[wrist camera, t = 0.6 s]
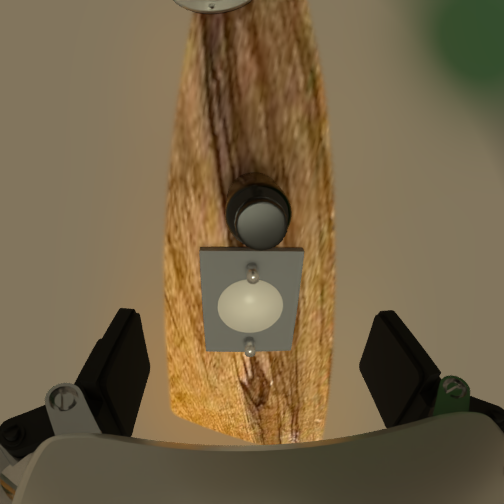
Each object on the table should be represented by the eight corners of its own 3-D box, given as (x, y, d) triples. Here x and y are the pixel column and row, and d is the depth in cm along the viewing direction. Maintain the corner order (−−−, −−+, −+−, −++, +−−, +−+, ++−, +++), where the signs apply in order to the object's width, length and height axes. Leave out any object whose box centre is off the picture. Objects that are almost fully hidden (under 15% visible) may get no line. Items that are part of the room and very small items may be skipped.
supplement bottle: (290, 200, 37) (314, 231, 26) (250, 232, 39) (257, 275, 28) (256, 159, 35) (267, 174, 24) (215, 194, 36) (207, 224, 25)
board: (200, 247, 39) (197, 260, 35) (302, 248, 40) (309, 261, 36) (206, 346, 46) (205, 364, 43) (289, 345, 47) (293, 362, 44)
